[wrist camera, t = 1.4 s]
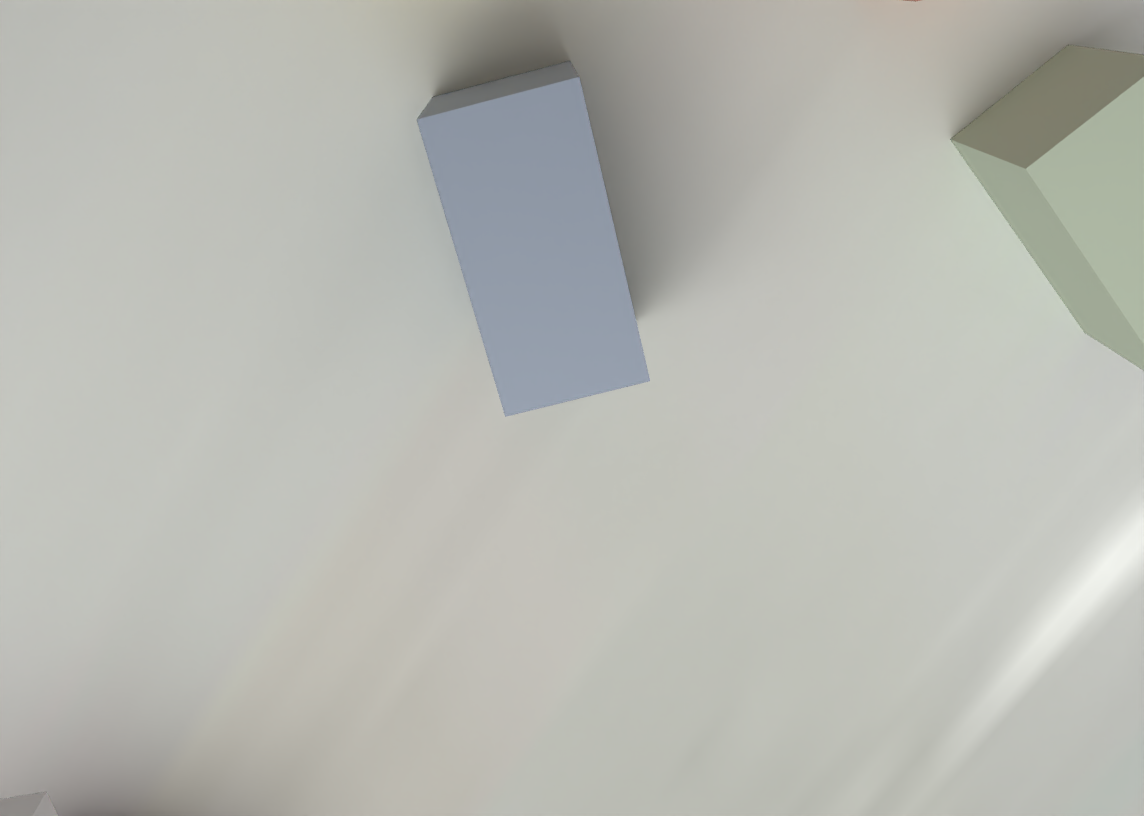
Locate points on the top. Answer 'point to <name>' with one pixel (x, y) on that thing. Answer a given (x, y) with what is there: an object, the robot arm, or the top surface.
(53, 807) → the robot arm
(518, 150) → the slate brick
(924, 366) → the top surface
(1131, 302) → the sage brick
